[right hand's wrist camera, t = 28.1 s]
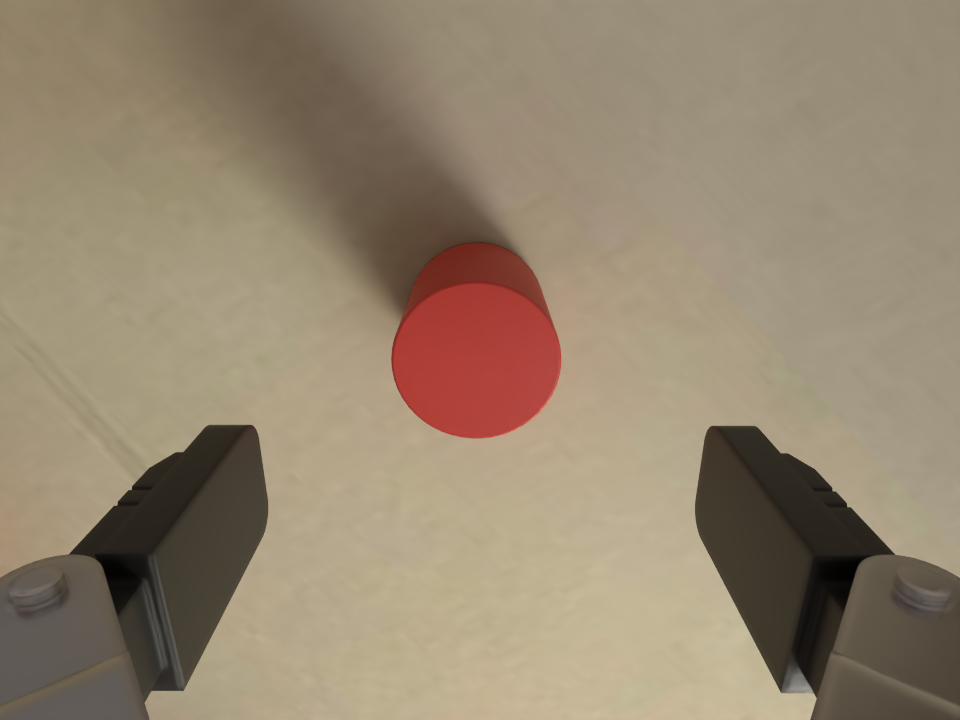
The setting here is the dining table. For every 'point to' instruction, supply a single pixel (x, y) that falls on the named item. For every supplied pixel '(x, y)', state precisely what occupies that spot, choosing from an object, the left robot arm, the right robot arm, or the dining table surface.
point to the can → (476, 343)
